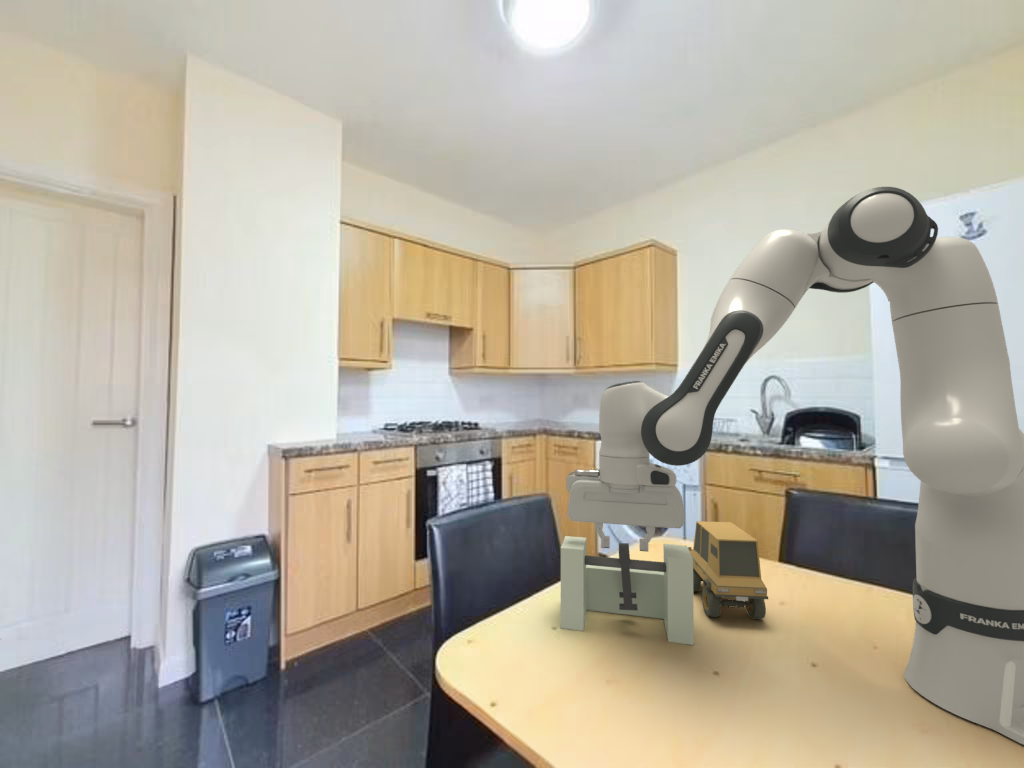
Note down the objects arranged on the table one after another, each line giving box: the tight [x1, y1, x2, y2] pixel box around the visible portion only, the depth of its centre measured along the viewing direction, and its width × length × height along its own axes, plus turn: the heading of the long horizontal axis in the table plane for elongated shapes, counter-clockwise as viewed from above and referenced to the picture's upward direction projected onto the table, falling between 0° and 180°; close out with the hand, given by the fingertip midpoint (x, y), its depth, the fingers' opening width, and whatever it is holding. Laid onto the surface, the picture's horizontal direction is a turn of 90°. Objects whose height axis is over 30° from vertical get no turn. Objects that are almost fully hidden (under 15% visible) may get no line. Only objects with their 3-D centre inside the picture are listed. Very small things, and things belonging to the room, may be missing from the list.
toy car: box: [687, 520, 769, 620], centre depth 88 cm, size 10×19×15 cm, turn 174°
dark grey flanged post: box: [618, 542, 638, 610], centre depth 79 cm, size 3×7×9 cm, turn 167°
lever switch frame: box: [560, 535, 695, 646], centre depth 80 cm, size 22×10×14 cm, turn 76°
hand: (624, 548), depth 79 cm, fingers open, 5 cm apart
